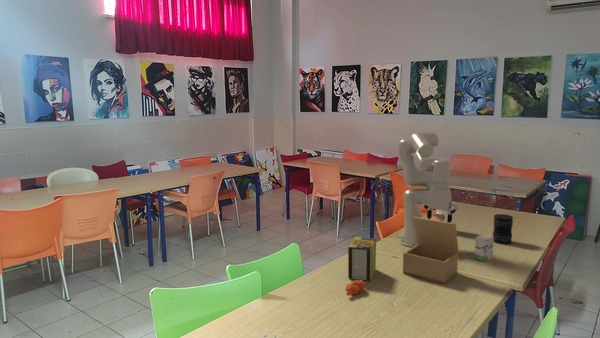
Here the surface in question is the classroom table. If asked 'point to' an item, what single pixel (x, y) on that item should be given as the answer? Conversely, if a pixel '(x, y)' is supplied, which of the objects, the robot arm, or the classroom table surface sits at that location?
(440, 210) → the decorative container
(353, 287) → the orange toy bird
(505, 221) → the storage jar
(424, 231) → the lid flap
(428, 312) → the classroom table surface
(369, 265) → the protein box
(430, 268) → the carton
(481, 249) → the ink box
